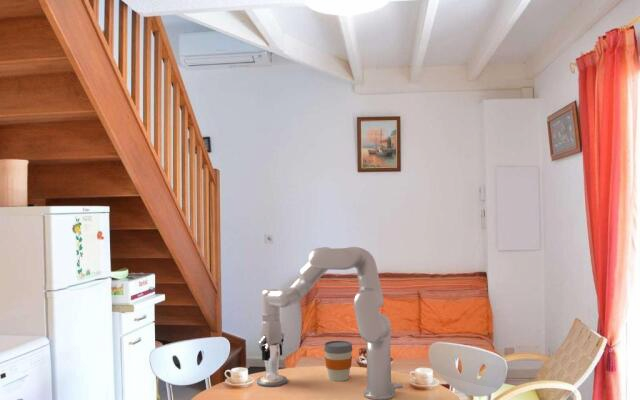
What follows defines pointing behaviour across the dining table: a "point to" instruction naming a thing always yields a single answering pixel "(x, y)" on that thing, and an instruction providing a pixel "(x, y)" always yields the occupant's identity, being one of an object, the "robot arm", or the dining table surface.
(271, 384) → the coaster plate
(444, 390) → the dining table surface
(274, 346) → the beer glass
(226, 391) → the dining table surface
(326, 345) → the reusable coffee cup
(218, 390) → the dining table surface
